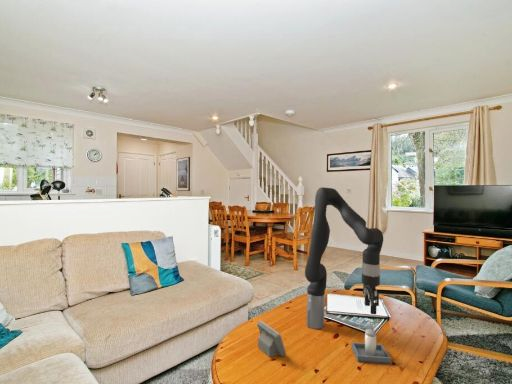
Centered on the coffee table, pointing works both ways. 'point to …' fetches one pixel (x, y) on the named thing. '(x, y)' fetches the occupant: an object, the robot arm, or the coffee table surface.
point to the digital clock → (270, 340)
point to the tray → (379, 358)
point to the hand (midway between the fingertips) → (370, 309)
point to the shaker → (370, 342)
